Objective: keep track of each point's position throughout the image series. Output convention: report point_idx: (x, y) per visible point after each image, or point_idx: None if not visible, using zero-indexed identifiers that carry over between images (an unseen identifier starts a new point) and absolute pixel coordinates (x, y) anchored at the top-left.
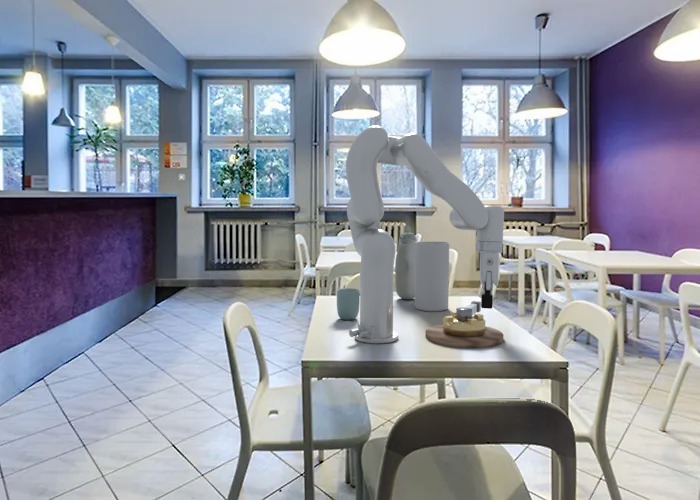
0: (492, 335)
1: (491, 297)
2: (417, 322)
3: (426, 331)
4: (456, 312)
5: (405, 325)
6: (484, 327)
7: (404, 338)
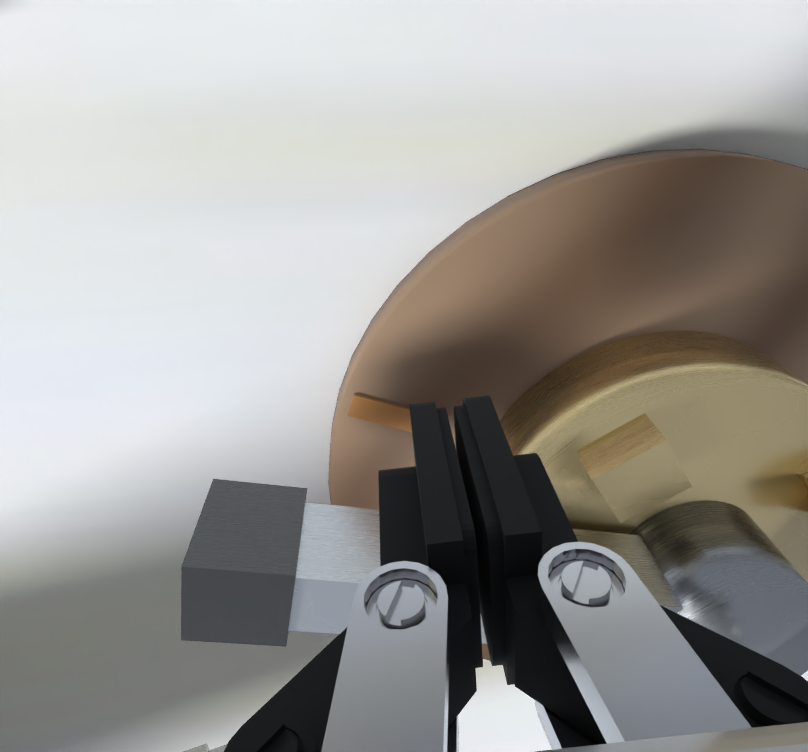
0: (722, 261)
1: (530, 520)
2: None
3: None
4: None
5: None
6: (753, 362)
7: None
